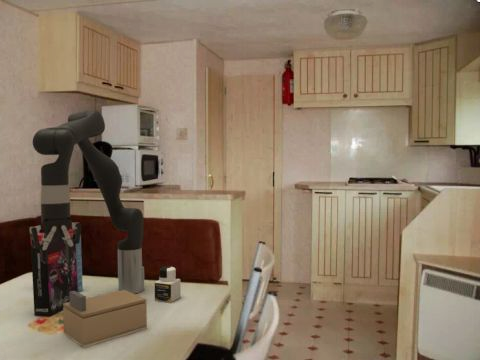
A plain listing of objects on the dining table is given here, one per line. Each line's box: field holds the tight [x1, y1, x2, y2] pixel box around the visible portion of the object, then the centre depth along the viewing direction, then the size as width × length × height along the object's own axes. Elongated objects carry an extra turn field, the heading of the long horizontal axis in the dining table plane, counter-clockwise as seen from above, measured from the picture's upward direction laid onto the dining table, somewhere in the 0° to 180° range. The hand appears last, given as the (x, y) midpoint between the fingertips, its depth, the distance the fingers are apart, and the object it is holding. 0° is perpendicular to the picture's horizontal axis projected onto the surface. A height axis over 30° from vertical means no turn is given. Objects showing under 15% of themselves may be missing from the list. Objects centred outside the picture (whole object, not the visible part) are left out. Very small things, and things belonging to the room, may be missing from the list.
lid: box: [63, 290, 147, 318], centre depth 131 cm, size 20×14×5 cm
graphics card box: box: [29, 228, 79, 317], centre depth 152 cm, size 17×7×27 cm, turn 168°
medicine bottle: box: [154, 265, 182, 304], centre depth 162 cm, size 7×7×12 cm
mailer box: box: [62, 301, 148, 348], centre depth 131 cm, size 20×14×8 cm
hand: (57, 261), depth 121 cm, fingers open, 5 cm apart
